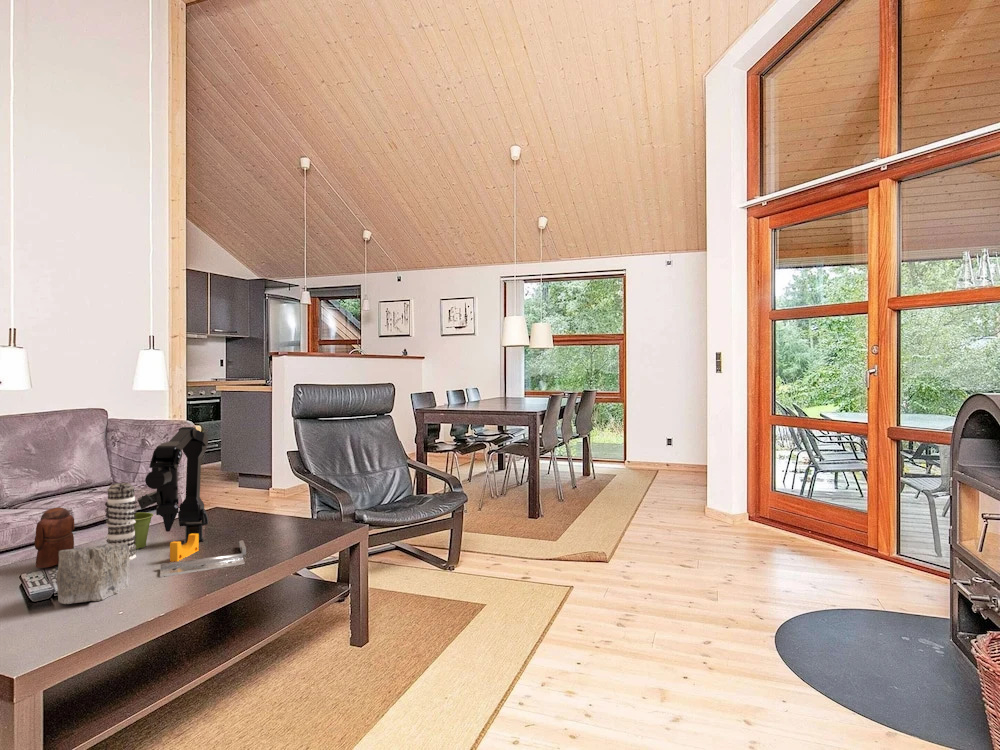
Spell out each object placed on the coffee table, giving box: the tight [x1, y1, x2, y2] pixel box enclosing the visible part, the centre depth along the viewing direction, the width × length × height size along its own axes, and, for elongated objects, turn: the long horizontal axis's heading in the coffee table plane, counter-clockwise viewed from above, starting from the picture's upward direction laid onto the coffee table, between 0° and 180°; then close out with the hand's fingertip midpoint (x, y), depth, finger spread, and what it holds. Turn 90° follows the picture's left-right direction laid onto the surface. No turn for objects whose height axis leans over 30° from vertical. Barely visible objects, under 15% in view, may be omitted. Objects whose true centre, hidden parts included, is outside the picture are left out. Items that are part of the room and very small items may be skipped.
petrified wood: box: [56, 543, 131, 605], centre depth 174 cm, size 19×17×15 cm
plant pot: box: [134, 512, 154, 551], centre depth 219 cm, size 12×12×11 cm
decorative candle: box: [104, 482, 138, 561], centre depth 206 cm, size 9×9×25 cm
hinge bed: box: [159, 539, 247, 578], centre depth 202 cm, size 20×25×3 cm
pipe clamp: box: [169, 533, 200, 563], centre depth 208 cm, size 12×4×6 cm, turn 175°
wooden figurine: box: [34, 507, 76, 569], centre depth 201 cm, size 12×6×18 cm, turn 176°
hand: (167, 530), depth 202 cm, fingers closed
